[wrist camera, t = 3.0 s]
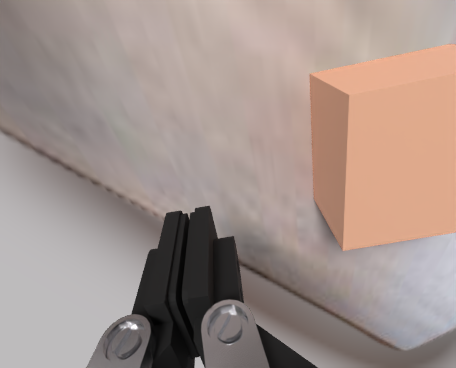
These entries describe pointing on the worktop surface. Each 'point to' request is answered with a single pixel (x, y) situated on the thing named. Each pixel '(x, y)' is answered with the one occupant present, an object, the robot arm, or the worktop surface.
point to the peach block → (386, 147)
